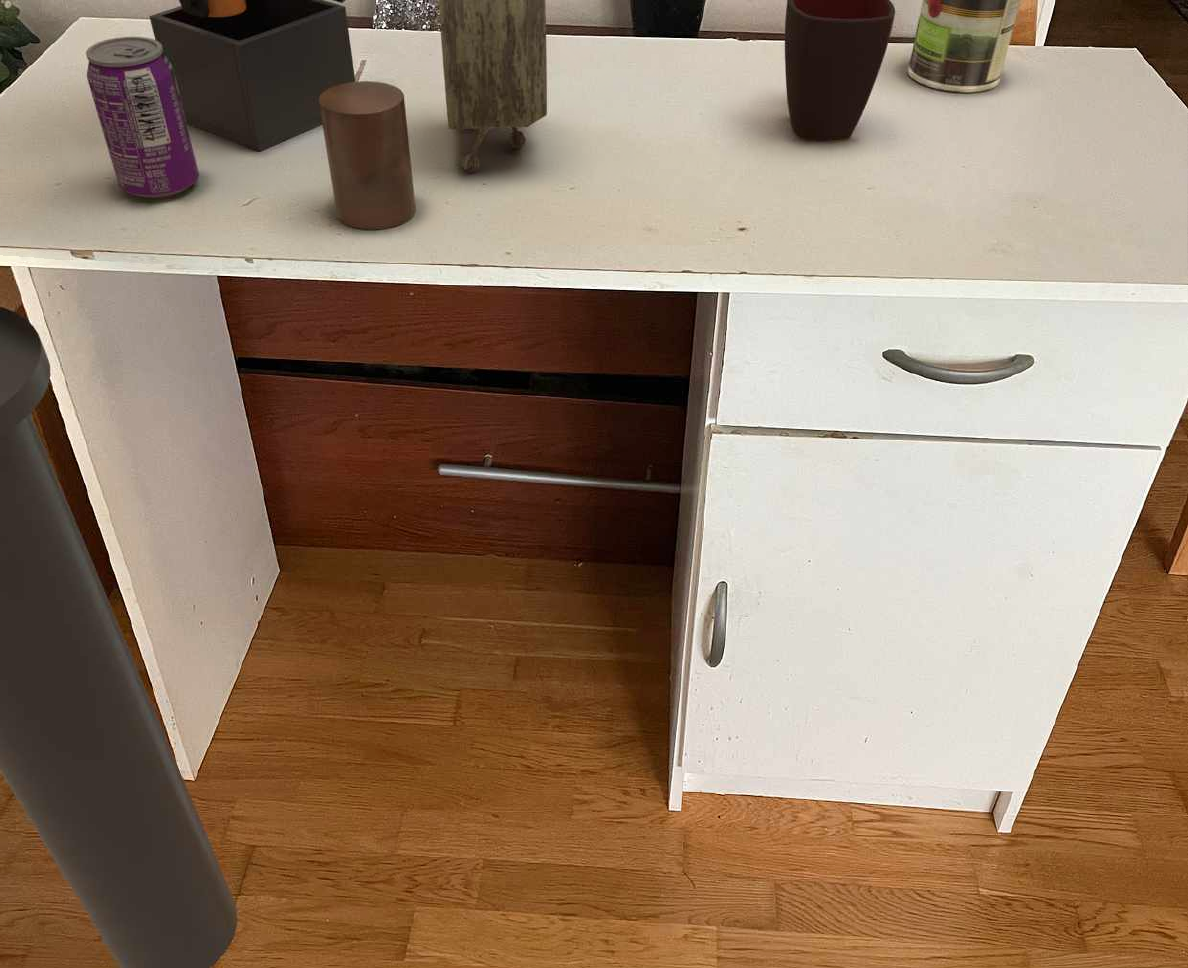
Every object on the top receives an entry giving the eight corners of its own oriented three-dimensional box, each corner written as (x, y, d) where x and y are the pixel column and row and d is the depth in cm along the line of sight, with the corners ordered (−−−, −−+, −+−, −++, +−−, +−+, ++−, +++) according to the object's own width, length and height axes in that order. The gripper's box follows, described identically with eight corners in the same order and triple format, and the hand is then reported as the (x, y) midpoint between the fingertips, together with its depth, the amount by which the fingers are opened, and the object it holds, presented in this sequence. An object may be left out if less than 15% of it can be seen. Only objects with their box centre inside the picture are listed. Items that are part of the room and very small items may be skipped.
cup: (780, 151, 110) (798, 20, 101) (759, 96, 120) (773, -27, 111) (880, 150, 110) (905, 20, 102) (850, 96, 120) (871, -27, 111)
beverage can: (214, 174, 104) (182, 38, 96) (178, 207, 100) (142, 68, 91) (144, 166, 105) (106, 31, 97) (106, 199, 100) (63, 60, 92)
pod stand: (377, 237, 96) (361, 120, 89) (320, 214, 99) (300, 99, 92) (432, 208, 100) (421, 94, 93) (375, 186, 103) (360, 74, 96)
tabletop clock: (450, 119, 114) (428, -172, 96) (539, 117, 115) (533, -173, 97) (452, 182, 104) (427, -131, 86) (549, 179, 105) (544, -132, 87)
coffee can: (947, 99, 120) (981, -47, 110) (888, 67, 126) (915, -74, 116) (1021, 84, 123) (1060, -60, 113) (959, 53, 129) (991, -85, 119)
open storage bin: (259, 151, 108) (238, 45, 101) (174, 119, 113) (149, 15, 106) (359, 108, 116) (345, 6, 109) (275, 79, 121) (257, -20, 114)
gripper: (222, -249, 99) (262, -23, 112) (55, -223, 89) (119, 21, 102) (281, -239, 96) (315, -8, 108) (114, -211, 86) (173, 39, 99)
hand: (220, 4), depth 105 cm, fingers closed on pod, 5 cm apart
